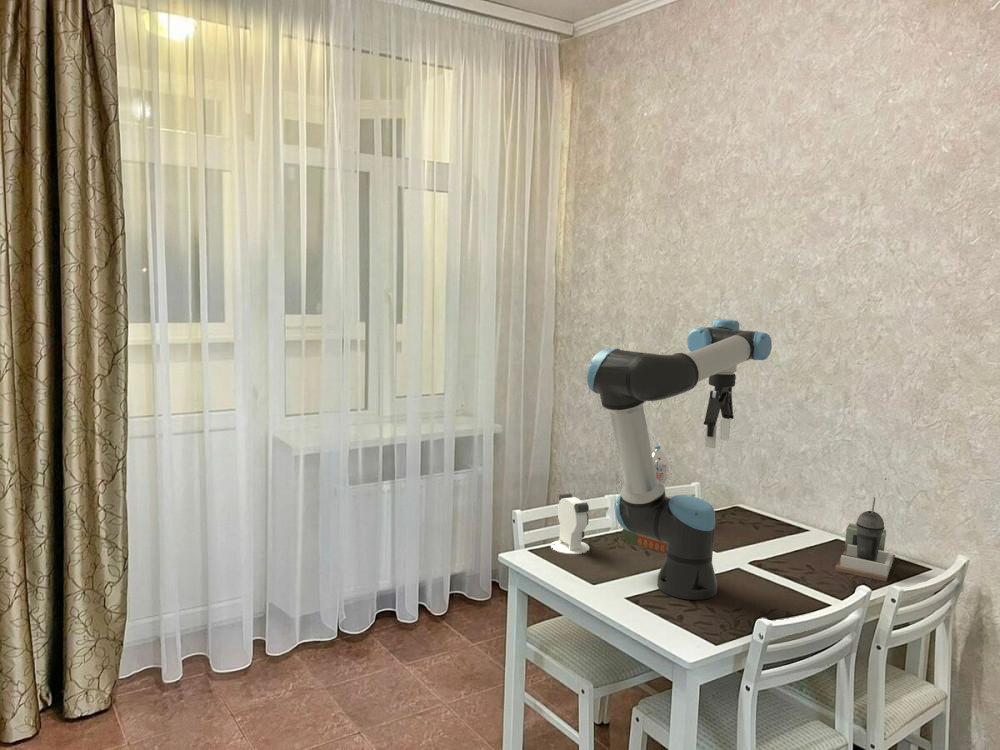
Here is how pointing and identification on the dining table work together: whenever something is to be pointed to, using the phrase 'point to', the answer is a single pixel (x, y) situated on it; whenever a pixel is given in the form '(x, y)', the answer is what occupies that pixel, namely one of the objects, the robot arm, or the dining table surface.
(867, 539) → the beverage cup
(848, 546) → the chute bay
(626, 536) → the carton
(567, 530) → the white upright piece
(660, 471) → the water bottle
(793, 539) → the dining table surface
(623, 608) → the dining table surface
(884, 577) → the desk organizer
